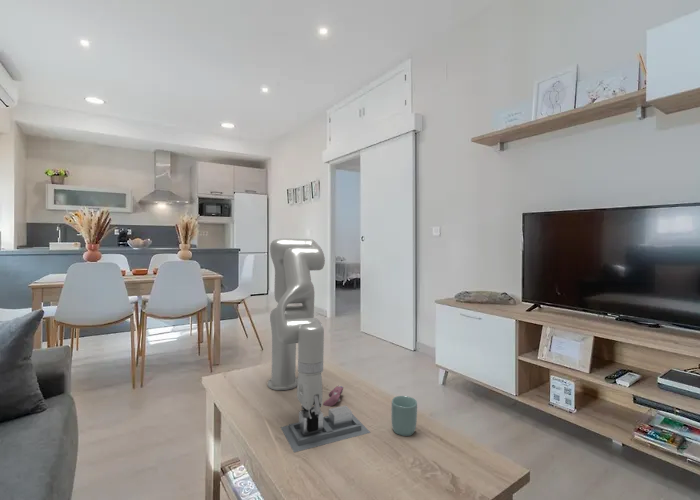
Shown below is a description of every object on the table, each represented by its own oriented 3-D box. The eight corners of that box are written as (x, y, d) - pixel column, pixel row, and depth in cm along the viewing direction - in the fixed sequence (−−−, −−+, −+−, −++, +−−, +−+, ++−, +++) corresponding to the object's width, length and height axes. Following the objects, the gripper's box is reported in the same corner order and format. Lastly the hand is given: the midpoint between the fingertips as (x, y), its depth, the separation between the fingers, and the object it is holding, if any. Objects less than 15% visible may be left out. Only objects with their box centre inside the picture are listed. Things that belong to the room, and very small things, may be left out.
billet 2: (328, 424, 110) (328, 409, 110) (345, 420, 113) (345, 405, 112) (334, 432, 106) (334, 415, 106) (351, 427, 109) (352, 411, 108)
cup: (418, 429, 110) (419, 398, 110) (414, 442, 103) (415, 409, 103) (393, 424, 113) (394, 394, 112) (388, 437, 105) (389, 404, 105)
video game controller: (332, 414, 122) (341, 397, 121) (321, 407, 123) (330, 390, 122) (338, 401, 132) (347, 385, 131) (328, 394, 132) (336, 379, 132)
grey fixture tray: (280, 430, 108) (280, 422, 108) (350, 414, 119) (350, 407, 119) (293, 455, 96) (293, 446, 95) (370, 435, 106) (370, 427, 106)
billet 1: (298, 427, 106) (299, 411, 105) (317, 423, 108) (317, 407, 108) (303, 435, 102) (303, 418, 101) (323, 430, 104) (323, 413, 104)
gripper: (290, 358, 110) (289, 416, 111) (308, 378, 95) (307, 444, 95) (312, 355, 113) (312, 411, 114) (333, 373, 98) (332, 438, 99)
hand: (309, 425), depth 105 cm, fingers closed on billet 1, 4 cm apart
